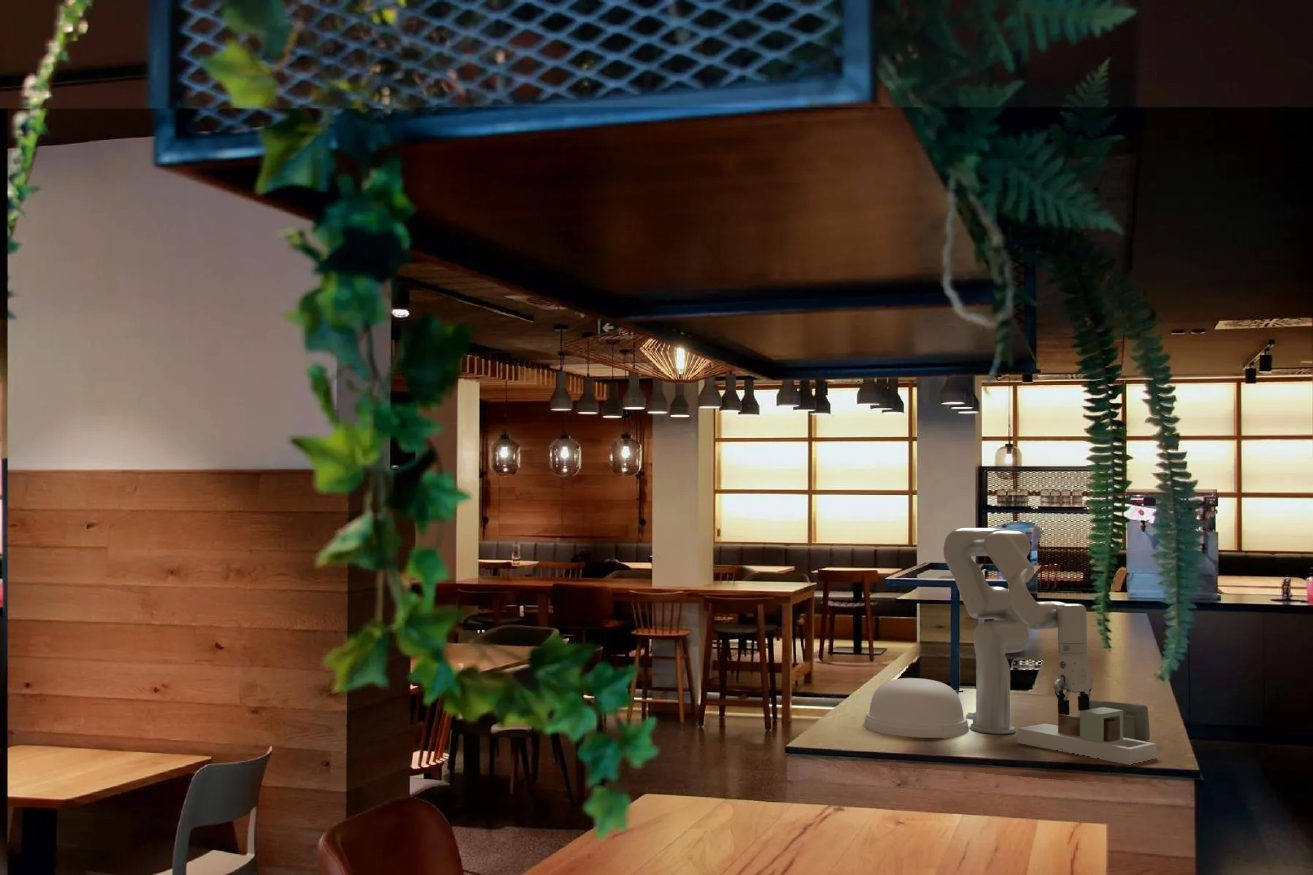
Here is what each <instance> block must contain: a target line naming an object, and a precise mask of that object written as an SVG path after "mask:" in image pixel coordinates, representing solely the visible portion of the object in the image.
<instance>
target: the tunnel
mask: <svg viewBox="0 0 1313 875" xmlns="http://www.w3.org/2000/svg"><path fill="white" fill-rule="evenodd" d="M1079 714H1080V739H1082V740H1088V741H1093V742H1098V743H1102V742H1104V718H1105V719H1111V720H1117V721H1119V739H1122V738H1123V710H1118V709H1111V708H1105V707H1100V708H1094V709H1089V710H1083V711H1079Z"/></svg>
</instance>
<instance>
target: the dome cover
mask: <svg viewBox="0 0 1313 875" xmlns="http://www.w3.org/2000/svg"><path fill="white" fill-rule="evenodd" d="M863 725H864V727H865V728H866V729H868V730H871V731H874V732H878V733H881V734H887V735H891V736H901V737H907V738H908V737H911V738H925V739H927V738H929V739H930V738H931V739H932V738H933V739H935V738H939V739H940V738H942V739H948V738H954V737H960V736H963V735H966V734H968V733H969V721H968V719H967V718H966V716H965V715H964V710H963V705H962V702H961V699H960V697H959V695H958V693H957V692H956V691H955V690H954V689H953V688H952V687H950V686H949V685H947V684H945V683H943V682H942V681H937V680H934V679H928V678H914V677H904V678H895V679H891V680H888V681H885V682H883V683H882V684H880V685H879V686H878V687H877V688H876V689H875V691H874V693H873V695H872V697H871V702H870V705H869V710H868V711H866V713H865V715H864V724H863Z"/></svg>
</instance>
